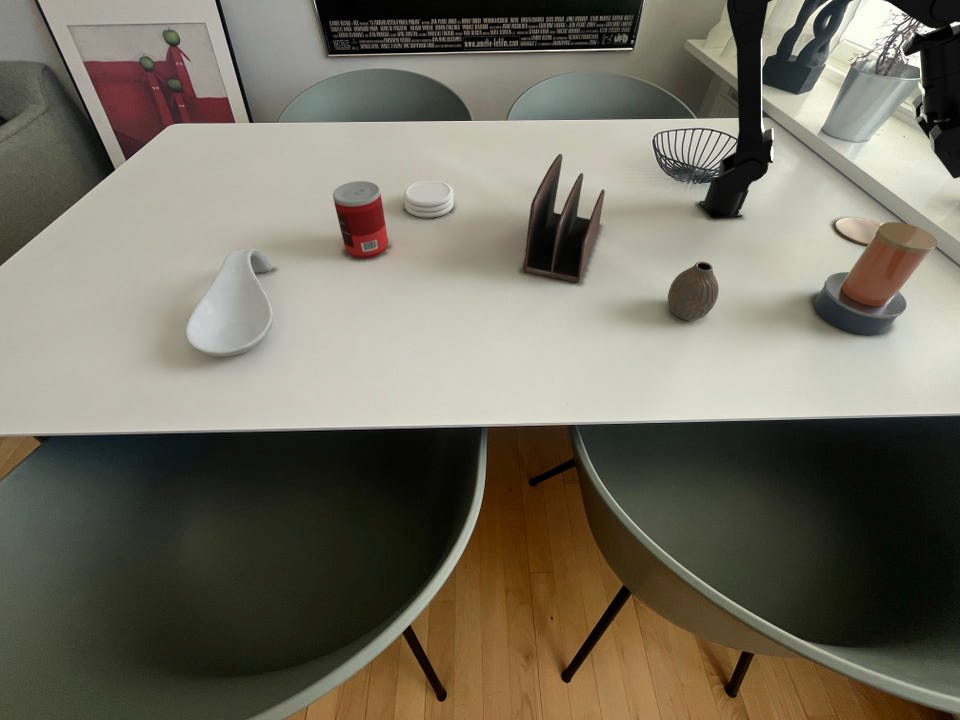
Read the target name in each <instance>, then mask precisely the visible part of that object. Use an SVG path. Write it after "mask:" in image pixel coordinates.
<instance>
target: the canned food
mask: <svg viewBox="0 0 960 720" xmlns="http://www.w3.org/2000/svg"><path fill="white" fill-rule="evenodd" d="M381 193H382V192H381V190H380V187H379V186H378V184H376V183H374V182H371V181H365V180H358V181H357V180H356V181H350V182H347V183H344V184H341V185H340V186H338V187H336V188H335V189H334V190H333V192H332V199H333V203H334V209H335V212H336V216H337V220H338V225H339V228H340V232H341V237H342V241H343V245H344V248H345V251H346V252H347V254H348V255H349V256H350V257H352V258H356V259H360V260H361V259H365V260H366V259H372V258H375V257H377V256H380V255H382V254H383V253H384V252H385V251H386V250H387V247H388V243H389V238H388V232H387V226H386V220H385V212H384V205H383V199H382V194H381Z"/></svg>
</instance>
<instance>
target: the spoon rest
mask: <svg viewBox="0 0 960 720" xmlns="http://www.w3.org/2000/svg"><path fill="white" fill-rule="evenodd" d="M272 269H273V266H272V263H271V262H270V260H269V259H268V257H267V256H266V255H265V254H264V253H263V252H262V251H261V250H259V249H257V248H250V249H245V250H244V249H233V250H232V251H230V252H229V253H228V254H227V256H226V257H225V259H224V260H223V263H222V265H221V266H220V269H219V270H218V272H217V274H216V275H215V277H214V279H213V280H212V282H211V283H210V285H209V287H208V288H207V290H206V291H205V293H204V294H203V295H202V297H201V298H200V300H199V301H198V302H197V304H196V306H195V308H194V309H193V311H192V313H190V316H189V318H188V320H187V322H186V325H185V330H184V332H185V335H184V336H185V339H186V341H187V343H188V345H190V347H191V348H193V349H194V350H195V351H197V352H199V353H202V354H204V355H208V356H213V357H234V356H238V355H241V354H245V353H247V352H250V351H252V350H253V349H255V348H256V347H258V346H259V345H260V344H262V343H263V341H264V340H265V339H266V338H267V337H268V334H269V332H270V331H271V328H272V325H273V319H274V314H273V308H272V305H271V302H270V299H269V298H268V295H267V294H266V292H265V290H264V288H263V287H262V285H261V284H260V283H261V282H260V281H259V279H258V278H257V275H256V274H257V273H265V272H270V271H272Z"/></svg>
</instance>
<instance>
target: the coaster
mask: <svg viewBox="0 0 960 720" xmlns="http://www.w3.org/2000/svg"><path fill="white" fill-rule="evenodd" d="M403 202H404V208H405V210H406V212H408V214H411V215H412V216H414V217H417V218H422V219H423V218H424V219H432V218H438V217H443V216H445V215H446V214H448V213H450V211H452V210H453V208H454V203H455V202H454V191H453V188H452V187H451V186H450V185H449V184H447V183H445V182H443V181H439V180H431V179H430V180H420V181H416V182H414V183H411V184H410V185H408V186H407V187H405V189H404V191H403Z"/></svg>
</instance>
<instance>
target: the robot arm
mask: <svg viewBox="0 0 960 720" xmlns="http://www.w3.org/2000/svg"><path fill="white" fill-rule="evenodd" d="M772 1H773V0H726V11H727V15H728V19H729V24H730V27H731V32H732V35H733V40H734V42H735V47H736V77H737V110H738V111H737V112H738V134H737V140H736V144H735V145H736V146H735V151H734V152H733V153H731V154H729V155H728V156H725V157H724V158H722V159H720V161H719V165H718V171H717V176H716V177H712V178H711V181H710V183H709V186H708V189H707V191H706V192H707V193H706V195H705V198H704V200H700V201H699V202H698V205H699V206H700V207H701V209H703V211H704V212H705V213H706V214H707V216H708V217H710V219H712V220H714V219H716V220H717V219H732V218H742V216H743V213H742V212H741V210H742V207H743V205H744V203H745V201H746V199H747V196H748V194H749V188H750V185H751V184H752V183H754V182H757V181H759V180H761V179H762V177H764V176H765V175H766V174H767V173H768V170H769V164H773V163H774V147H773V142H774V128H768V129H766V130H765V127H764V124H763V97H762V96H763V46H762V45H763V43H762V42H763V34H764V28H765V23H766V19H767V11H768V7H769V6H768V5H769V3H770V2H772ZM882 1H884V2H887V3H889V4H891V5H892V6H894V7H895V8H897V9H899V10H900V11H901V12H903V14H905V15H907V16H909V17H910V18H912V19H913V20H915V21H917V22H918V23H920V24H922V25H923V26H925V27H927V28H929V29H932V30H929V31H926V32H925V33H921V32H919V31H917V30H914V31H913V32H912V33H911V35H910V37H909V38H908V39H907V40H906V42H905V43H904V44H903V45H901V47H900V51H901V52H902V54H903V55H904V56H905V57H910V56H911V55H914V54H917V53H918V59H919V71H920V73H919V74H920V80H918V88H919V91H920V92H921V93H920V94H918V95H917V96H916V98H915V99H914V100H913V101H912V102H911V108H912V114H913V116H914V119H915V121H916V123H917V124H918V126H919V127H920V129H921V130H922V131H923V133H924V134H925V136H926V137H927V139H928V140H929V143H930V148H931V150H932V151H933V154H935V156H936V157H937V158H938V160H939V162H941V164H942V165H943V166H944V168H945V169H946V170H947V172H948V173H949V175H950V176H951V177H952V179H959V178H960V24H957V25H954V26H952V24H954V23H960V0H882Z"/></svg>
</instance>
